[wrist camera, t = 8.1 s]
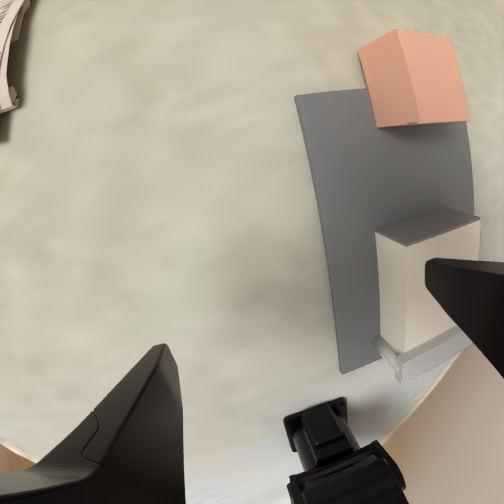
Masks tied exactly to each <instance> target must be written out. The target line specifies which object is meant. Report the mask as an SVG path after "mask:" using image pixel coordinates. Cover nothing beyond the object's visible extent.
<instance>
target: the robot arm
mask: <svg viewBox="0 0 504 504" xmlns="http://www.w3.org/2000/svg"><path fill="white" fill-rule="evenodd" d="M425 286H426V288H427V290H428V291H429V292H430V293H431V295H432V296H433V297H434V298H435V300H436V301H437V302H438V303H439V305H440V306H441V307H442V308H443V310H444V311H445V312H446V314H447V315H448V316H449V317H450V318H451V319H452V320H453V321H454V323H455V324H456V325H457V326H458V327H459V328H460V329H461V330H462V331H463V332H464V333H465V334H466V335H467V337H468V338H469V339H470V340H471V341H472V342H473V343H474V344H475V345H476V346H477V348H478V349H479V350H480V351H481V352H482V353H483V354H484V356H485V357H486V358H487V359H488V360H489V361H490V363H491V364H492V365H493V366H494V367H495V368H496V370H497V371H498V372H499V373H500V375H501V376H502V377H503V378H504V263H503V262H490V261H476V260H462V259H448V258H432V259H430V260H428V261H426V263H425ZM93 411H94V412H93ZM93 411H92V412H91V413H90V414H89V415H88V416H87V417H86V418H85V419H84V420H83V421H82V422H81V423H80V424H79V425H78V426H77V427H76V428H75V429H74V430H73V431H72V432H71V433H70V434H69V435H68V436H67V437H66V438H65V439H64V440H63V441H61V442H60V443H59V444H58V445H57V446H56V447H55V448H54V449H53V450H51V451H50V452H49V453H48V454H47V455H46V456H45V457H44V458H42V459H41V460H40V461H39V462H38V463H37V464H35V465H34V466H32V467H30V468H28V469H25V470H22V471H10V472H0V504H186V502H185V482H184V453H183V407H182V399H181V391H180V382H179V374H178V367H177V364H176V362H175V360H174V358H173V356H172V354H171V351H170V349H169V347H168V346H167V344H165V343H164V344H159V345H155V346H153V347H152V348H151V349H150V350H149V351H148V352H147V353H146V354H145V355H144V356H143V357H142V359H141V360H140V361H139V362H138V363H137V364H136V365H135V366H134V367H133V368H132V369H131V370H130V371H129V372H128V373H127V374H126V376H125V377H124V378H123V379H122V380H121V381H120V382H119V383H118V384H117V385H116V386H115V387H114V388H113V389H112V390H111V391H110V393H109V394H108V395H107V396H106V397H105V398H104V399H103V400H102V401H101V402H100V403H99V404H98V405H97V406H96V407H95V409H94V410H93ZM283 422H284V426H285V429H286V433H287V436H288V439H289V443H290V446H291V449H292V451H293V452H298V455H299V458H300V461H301V463H302V466H303V469H304V471H305V472H302V473H299V474H296V475H295V474H294V475H291V476H289V478H290V483H289V484H288V485H287V489H288V492H289V495H290V499H291V504H409V503H408V501H407V499H406V497H405V495H404V493H403V490H405V488H406V485H405V481H404V478H403V475H402V473H401V471H400V469H399V467H398V466H397V464H396V463H395V462H394V460H393V459H392V458H391V457H390V456H389V454H388V453H387V452H386V451H385V449H384V448H383V447H382V446H381V444H380V443H379V442H378V441H377V440H375V441H373V442H371V444H369V445H367V446H365V447H363V448H360V446H359V445H358V443H357V441H356V439H355V437H354V436H353V434H352V432H351V430H350V428H349V427H348V425H347V405H346V400H345V399H344V398H340V399H337V400H335V401H332V402H329V403H327V404H324V405H321V406H318V407H316V408H313V409H310V410H307V411H304V412H301V413H298V414H295V415H292V416H288V417H286V418H284V420H283Z"/></svg>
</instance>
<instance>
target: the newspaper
mask: <svg viewBox="0 0 504 504" xmlns="http://www.w3.org/2000/svg"><path fill="white" fill-rule="evenodd" d="M29 6H30V0H15V1H13V2H11V3H9V4H7V5H5V6H3V7H1V8H0V114H1V113H4V112H6V111H9V110H12V109H15V108H17V107H18V103H19V100H20V98H18V99H15V98H16V95H17V92H16V91H15V89H14V88H13V86H10V87H8V84H7V76H6V72H7V62H8V53H9V46H10V43H12V42H14V41H16V40H18V37H19V33H20V29H21V24H22V20H23V16H24V13H25V11H26V10H27V9H28V7H29Z"/></svg>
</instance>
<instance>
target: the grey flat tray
mask: <svg viewBox="0 0 504 504" xmlns="http://www.w3.org/2000/svg"><path fill="white" fill-rule="evenodd" d="M294 99H295V103H296V107H297V111H298V115H299V119H300V124H301V128H302V132H303V137H304V141H305V146H306V150H307V155H308V160H309V164H310V169H311V174H312V179H313V184H314V189H315V194H316V200H317V205H318V211H319V216H320V222H321V228H322V234H323V240H324V246H325V252H326V259H327V265H328V272H329V279H330V287H331V294H332V302H333V310H334V319H335V327H336V337H337V346H338V357H339V368H340V372H341V373H342V374H345V373H348V372H350V371H353V370H355V369H357V368H360V367H362V366H365V365H367V364H369V363H372V362H374V361H376V360H379V359H381V358H383V359H384V360H385V361H386V362H387V363H388V364H389V366H390V367H391V368H392V369H393V370H394V371H395V379H396V380H397V381H398V382H399V383H400V385H401V384H403V383H405V382H407V381H409V380H411V379H413V378H415V377H417V376H419V375H421V374H422V373H424V372H426V371H428V370H430V369H431V368H433V367H435V366H437V365H438V364H440V363H442V362H444V361H445V360H447V359H449V358H450V357H452V356H454V355H455V354H457V353H458V352H460V351H462V350H463V349H465V348H466V347H468V346H469V345H471V344H472V343H473V342H472V341H471V340H470V339H469V338H468V337H467V335H466V334H465V333H464V332H463V331H462V330H461V329H460V328H459V327H458V326H457V325H456V324H455V323H454V321H453V320H452V319H451V318H450V317H449V316H448V315H447V314H446V312H445V311H444V310H443V308H442V307H441V306H440V305H439V303H438V302H437V301H436V300H435V298H434V297H433V296H432V295H431V293H430V292H429V291H428V290H427V288H426V286H425V263H426V261H428V260H430V259H432V258H448V259H462V260H476V261H479V244H480V217H477V216H474V193H473V177H472V165H471V155H470V147H469V139H468V132H467V126H466V121H465V122H444V123H430V124H417V125H398V126H388V127H378V128H377V126H376V121H375V116H374V112H373V107H372V103H371V99H370V94H369V90H368V89H353V90H341V91H330V92H321V93H312V94H305V95H297V96H295V97H294Z"/></svg>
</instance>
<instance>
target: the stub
mask: <svg viewBox="0 0 504 504" xmlns="http://www.w3.org/2000/svg"><path fill="white" fill-rule="evenodd" d="M357 51H358V54H359V57H360V61H361V64H362V68H363V71H364V75H365V79H366V83H367V86H368V90H369V94H370V99H371V103H372V107H373V112H374V116H375V121H376V126H377V128H378V127H388V126H398V125H417V124H430V123H444V122H465V121H470V116H469V110H468V105H467V100H466V96H465V91H464V87H463V82H462V78H461V74H460V71H459V67H458V63H457V60H456V56H455V53H454V50H453V47H452V43H451V40H450V38H448V37H444V36H438V35H433V34H427V33H421V32H415V31H408V30H400V29H395V30H393V31H391V32H389V33H387V34H385V35H384V36H382V37H380V38H378V39H376V40H374V41H373V42H371V43H369V44H367V45H365V46H364V47H362V48H360V49H358V50H357Z"/></svg>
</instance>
